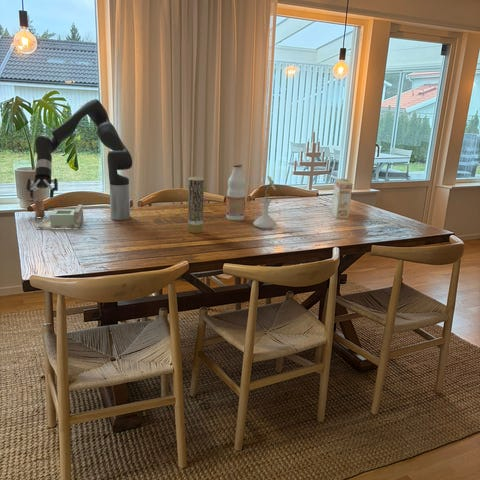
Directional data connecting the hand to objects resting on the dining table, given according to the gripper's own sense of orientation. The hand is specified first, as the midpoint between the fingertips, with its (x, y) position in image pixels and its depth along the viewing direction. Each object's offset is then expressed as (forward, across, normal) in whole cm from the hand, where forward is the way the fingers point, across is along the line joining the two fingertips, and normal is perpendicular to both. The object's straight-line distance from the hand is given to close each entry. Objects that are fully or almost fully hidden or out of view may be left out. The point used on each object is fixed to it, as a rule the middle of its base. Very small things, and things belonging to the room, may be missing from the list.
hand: (41, 197), depth 226 cm
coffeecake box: (+14, -156, -6) cm, 156 cm away
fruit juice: (+15, -96, -1) cm, 97 cm away
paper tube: (+31, -73, +16) cm, 81 cm away
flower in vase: (+27, -108, +10) cm, 111 cm away
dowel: (+10, 0, -2) cm, 10 cm away
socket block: (+19, -13, +9) cm, 25 cm away
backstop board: (+20, -12, +8) cm, 25 cm away
